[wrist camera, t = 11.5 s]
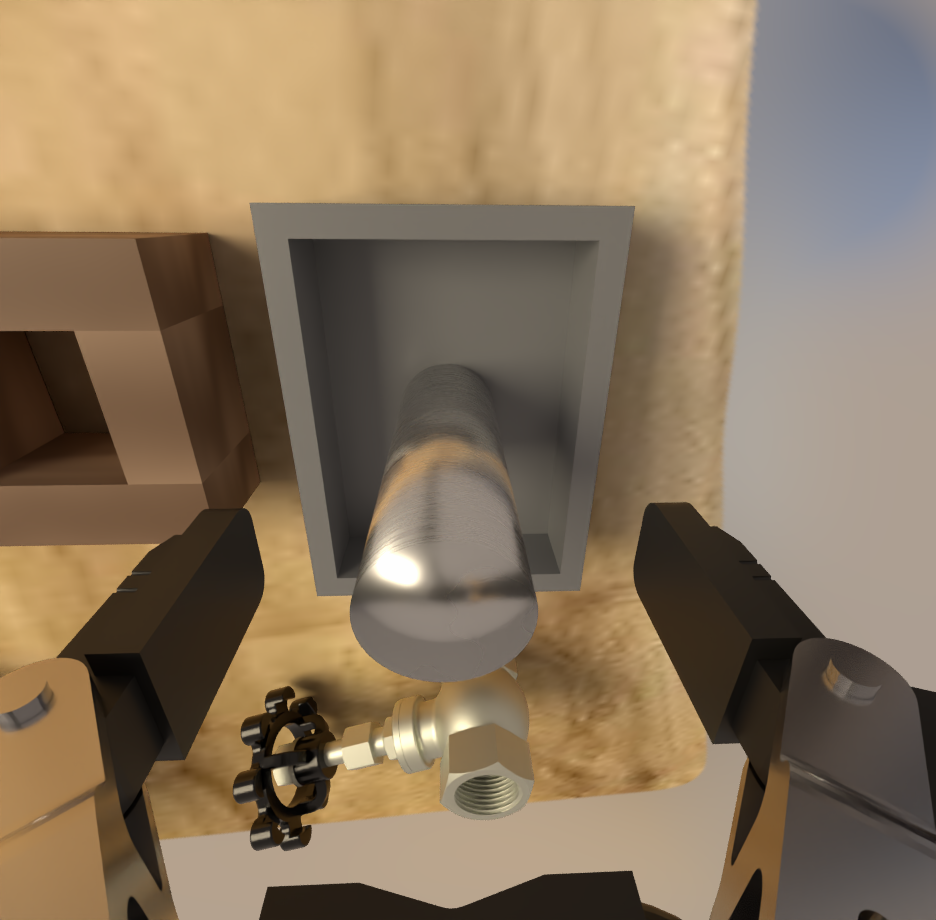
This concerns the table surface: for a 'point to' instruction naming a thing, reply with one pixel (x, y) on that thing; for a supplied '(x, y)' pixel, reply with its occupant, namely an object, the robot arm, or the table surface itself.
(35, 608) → the table surface
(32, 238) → the pin block
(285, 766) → the valve
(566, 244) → the tray
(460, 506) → the pin
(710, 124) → the table surface
